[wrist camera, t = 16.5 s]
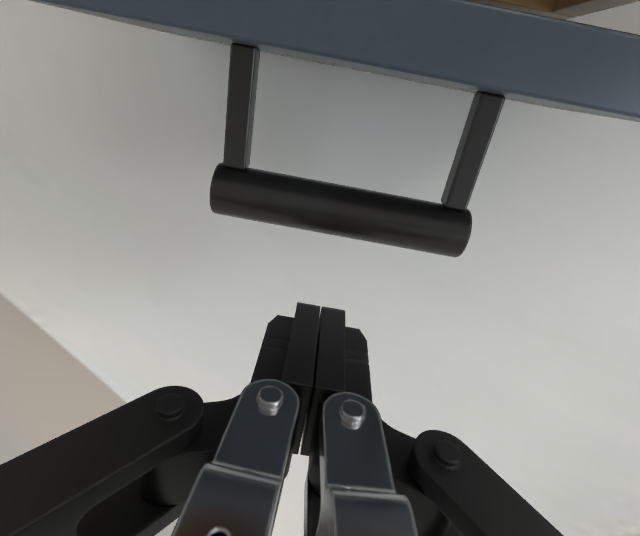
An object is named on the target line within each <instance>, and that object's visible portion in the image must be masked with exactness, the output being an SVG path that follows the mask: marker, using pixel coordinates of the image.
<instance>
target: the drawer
mask: <svg viewBox="0 0 640 536" xmlns="http://www.w3.org/2000/svg"><path fill="white" fill-rule="evenodd" d="M30 1H34V2H38V3H42V4H47V5H51V6H55V7H59V8H64V9H68V10H72V11H77V12H81V13H85V14H89V15H94V16H98V17H102V18H107V19H111V20H115V21H119V22H124V23H128V24H132V25H137V26H141V27H145V28H149V29H154V30H158V31H162V32H166V33H171V34H175V35H181V36H186V37H191V38H196V39H201V40H206V41H211V42H216V43H222V44H227V45H231V51H230V67H229V82H228V98H227V113H226V129H225V144H224V160H223V163H219V164H218V165H217V167H216V169H215V171H214V174H213V177H212V181H211V187H210V206H211V210H212V212H214V213H216V214H221V215H227V216H232V217H238V218H243V219H249V220H254V221H260V222H265V223H270V224H276V225H281V226H287V227H292V228H298V229H303V230H309V231H314V232H320V233H325V234H330V235H336V236H341V237H347V238H352V239H358V240H363V241H369V242H374V243H380V244H385V245H390V246H396V247H401V248H407V249H412V250H418V251H423V252H429V253H434V254H440V255H445V256H450V257H458V256H460V255H461V254H462V253H463V251H464V250H465V248H466V246H467V244H468V241H469V238H470V234H471V228H472V216H471V212H470V211H469V210H468V209H466V208H467V206H468V203H469V200H470V197H471V194H472V191H473V189H474V186H475V183H476V180H477V177H478V174H479V172H480V169H481V166H482V163H483V160H484V157H485V155H486V152H487V149H488V146H489V143H490V140H491V138H492V135H493V132H494V129H495V126H496V123H497V121H498V118H499V115H500V112H501V109H502V106H503V104H504V101H505V99H509V100H514V101H519V102H524V103H529V104H534V105H539V106H545V107H551V108H557V109H563V110H569V111H575V112H581V113H588V114H594V115H600V116H606V117H612V118H618V119H625V120H631V121H637V122H640V35H637V34H632V33H627V32H622V31H617V30H612V29H607V28H602V27H597V26H592V25H587V24H582V23H577V22H572V21H567V20H565V19H569V18H573V17H577V16H581V15H585V14H589V13H593V12H597V11H601V10H605V9H609V8H613V7H617V6H621V5H625V4H629V3H633V2H637V1H640V0H30ZM260 51H263V52H268V53H273V54H278V55H283V56H288V57H293V58H298V59H304V60H309V61H314V62H319V63H324V64H329V65H334V66H339V67H345V68H350V69H355V70H360V71H365V72H370V73H375V74H381V75H386V76H391V77H396V78H401V79H406V80H411V81H416V82H422V83H427V84H432V85H437V86H442V87H447V88H452V89H457V90H463V91H468V92H473V93H475V95H474V98H473V101H472V104H471V108H470V111H469V114H468V117H467V120H466V123H465V126H464V129H463V133H462V136H461V139H460V142H459V145H458V148H457V151H456V155H455V158H454V161H453V164H452V167H451V170H450V173H449V176H448V180H447V183H446V186H445V189H444V192H443V195H442V198H441V202H442V203H443V204H440V203H435V202H429V201H424V200H419V199H413V198H408V197H403V196H397V195H392V194H387V193H381V192H376V191H371V190H365V189H360V188H355V187H349V186H344V185H338V184H333V183H328V182H322V181H317V180H312V179H306V178H301V177H296V176H290V175H285V174H280V173H274V172H269V171H264V170H258V169H253V168H248V166H249V164H250V154H251V143H252V133H253V122H254V111H255V100H256V90H257V79H258V68H259V58H260Z"/></svg>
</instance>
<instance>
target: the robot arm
mask: <svg viewBox="0 0 640 536" xmlns="http://www.w3.org/2000/svg"><path fill="white" fill-rule="evenodd" d="M319 315H320V317H319ZM368 363H369V360H368V349H367V340H366V339H365V337H364V336H363V334H362V333H361V331H360V330H359V329H355V328H350V327H345V310H339V309H334V308H328V307H322V308H321V312H320V306H316V305H310V304H305V303H299V302H298V303H297V307H296V313H295V318H292V317H286V316H280V315H277V316H276V317H275V318H274V319H273V320H272V321H271V322H269V323H268V326H267V329H266V333H265V337H264V339H263V343H262V346H261V349H260V353H259V356H258V359H257V363H256V366H255V369H254V373H253V376H252V379H251V382H250V384H249V385H248V386H246V387H245V388H244V389H243V391H242V393H241V394H240V395H238V396H236V397H234V398H232V399H229V400H225V401H218V402H207V403H203V400H202V398H201V397H200V396H199V394H198V393H196V392H195V391H193V390H192V389H189V388H187V387H182V386H167V387H162V388H159V389H156V390H154V391H152V392H150V393H148V394H146V395H144V396H142V397H140V398H137V399H135V400H133V401H131V402H129V403H127V404H125V405H123V406H121V407H119V408H117V409H115V410H113V411H111V412H109V413H107V414H104V415H102V416H100V417H98V418H96V419H94V420H92V421H90V422H88V423H86V424H84V425H82V426H80V427H78V428H76V429H74V430H71V431H70V432H67V433H65V434H63V435H61V436H59V437H57V438H55V439H53V440H51V441H49V442H47V443H45V444H43V445H41V446H39V447H37V448H34V449H32V450H30V451H28V452H26V453H24V454H22V455H20V456H18V457H16V458H14V459H12V460H10V461H8V462H6V463H4V464H1V465H0V536H155V535H156V534H157V533H158V532H160V531H161V530H162V529H164V528H165V527H166V526H167V525H169V524H170V523H172V522H173V521H174V520H175V519H177V518H178V517H179V518H178V521H177V523H176V526H175V527H174V530H173V532H172V534H171V536H272V532H273V527H274V523H275V518H276V514H277V510H278V505H279V501H280V496H281V492H282V488H283V483H284V479H285V478H286V476H287V474H288V471H289V467H290V462H291V457H292V453H293V454H298V451H299V447H300V442H301V438H302V445H301V454H300V455H306V456H309V466H308V472H307V476H306V481H305V490H304V536H563V535H562V534H561V533H560V532H559V531H558V530H557V529H556V528H555V527H554V526H553V525H551V524H550V523H549V522H548V521H547V520H546V519H545V518H544V517H543V516H542V515H541V514H540V513H539V512H537V511H536V510H535V509H534V508H533V507H532V506H531V505H530V504H529V503H528V502H527V501H526V500H525V499H523V498H522V497H521V496H520V495H519V494H518V493H517V492H516V491H515V490H514V489H513V488H512V487H511V486H509V485H508V484H507V483H506V482H505V481H504V480H503V479H502V478H501V477H500V476H499V475H498V474H497V473H496V472H494V471H493V470H492V469H491V468H490V467H489V466H488V465H487V464H486V463H485V462H484V461H483V460H482V459H480V458H479V457H478V456H477V455H476V454H475V453H474V452H473V451H472V450H471V449H470V448H469V447H468V446H466V445H465V444H464V443H463V442H462V441H461V440H459V439H458V438H456V437H455V436H453V435H451V434H449V433H446V432H443V431H438V430H428V431H425V432H422V433H421V434H419V435H418V437H417V438H416V439H415V438H413V437H410V436H408V435H406V434H404V433H401V432H399V431H397V430H395V429H393V428H392V427H390V426H389V425H387V424H386V423H385V422H384V421H383V420H382V419H381V416H380V413H379V411H378V409H377V408H376V406H375V405H374V404H373V403H372V393H371V382H370V371H369V365H368ZM302 433H303V436H302Z"/></svg>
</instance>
